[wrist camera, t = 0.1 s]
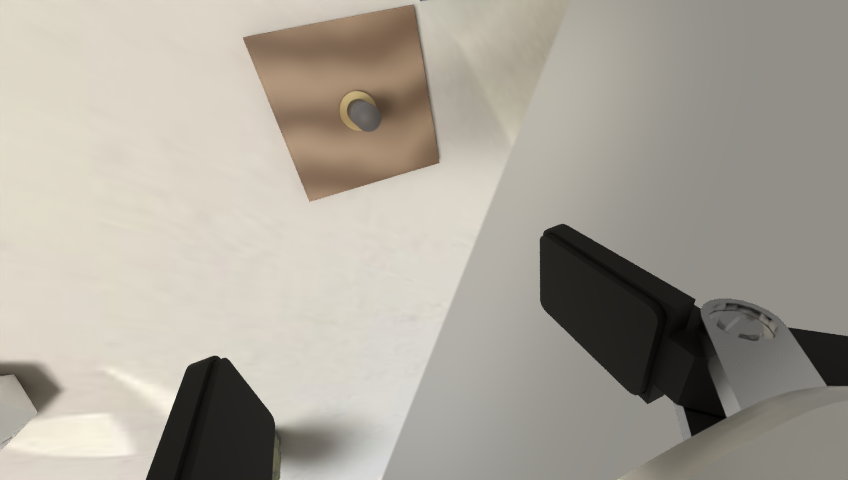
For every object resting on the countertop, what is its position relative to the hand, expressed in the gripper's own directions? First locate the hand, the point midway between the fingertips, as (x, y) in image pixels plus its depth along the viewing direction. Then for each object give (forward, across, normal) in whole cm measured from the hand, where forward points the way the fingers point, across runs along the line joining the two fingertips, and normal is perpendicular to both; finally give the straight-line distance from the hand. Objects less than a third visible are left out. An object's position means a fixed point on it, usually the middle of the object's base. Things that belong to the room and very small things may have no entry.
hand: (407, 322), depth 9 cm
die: (+31, +43, +17) cm, 56 cm away
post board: (+31, -4, -2) cm, 31 cm away
